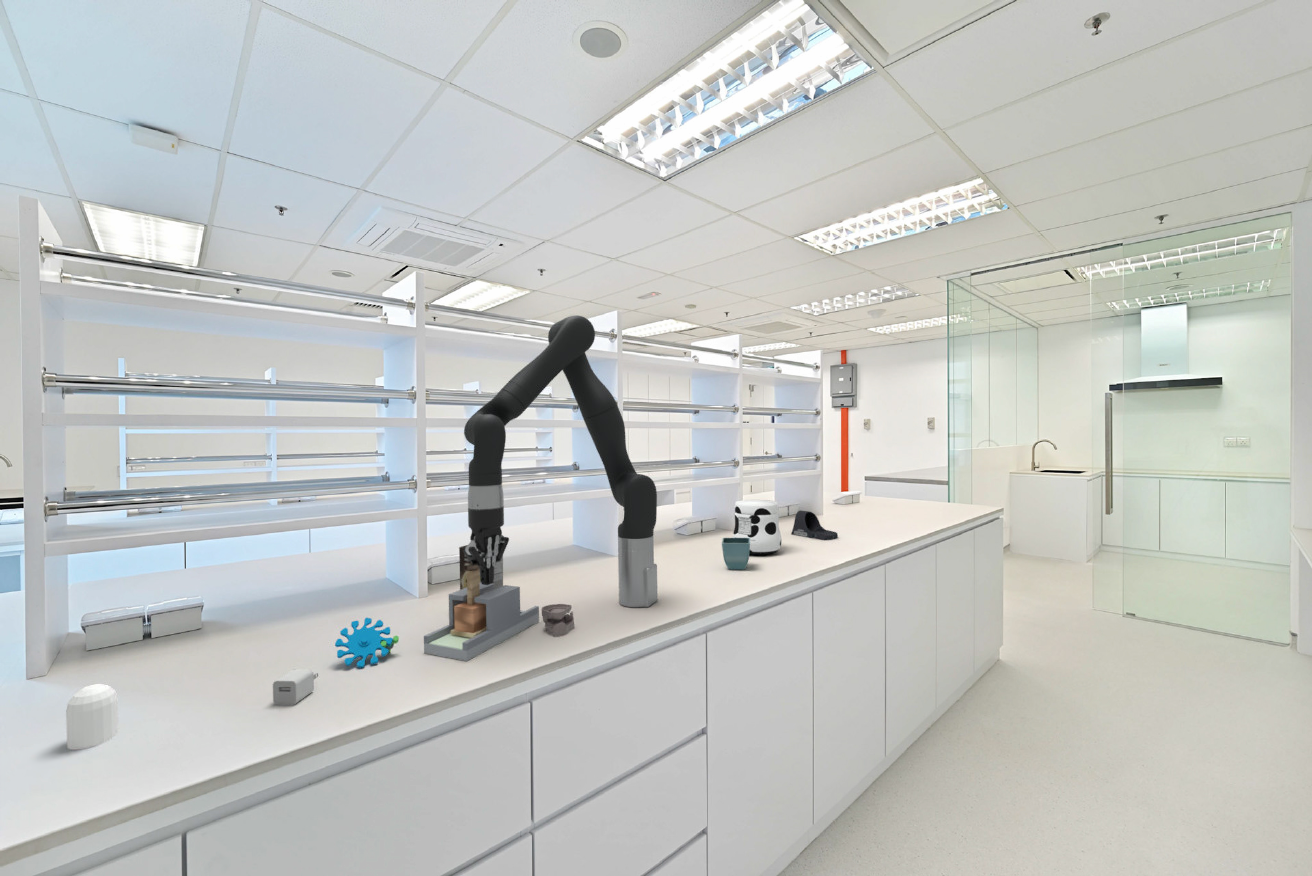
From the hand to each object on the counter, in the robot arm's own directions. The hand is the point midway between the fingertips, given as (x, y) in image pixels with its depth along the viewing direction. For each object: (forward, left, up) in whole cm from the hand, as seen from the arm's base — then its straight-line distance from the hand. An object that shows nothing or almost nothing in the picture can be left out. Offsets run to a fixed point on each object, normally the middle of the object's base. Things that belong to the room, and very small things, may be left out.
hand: (487, 583), depth 122 cm
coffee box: (+13, -13, -11) cm, 22 cm away
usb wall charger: (+12, +34, -12) cm, 38 cm away
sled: (0, +5, -9) cm, 10 cm away
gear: (+13, +20, -12) cm, 26 cm away
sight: (-53, -137, -12) cm, 147 cm away
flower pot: (-36, -75, -11) cm, 84 cm away
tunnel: (0, +1, -11) cm, 11 cm away
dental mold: (-13, -8, -12) cm, 19 cm away
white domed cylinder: (+27, +55, -11) cm, 62 cm away
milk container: (-37, -100, -11) cm, 107 cm away
